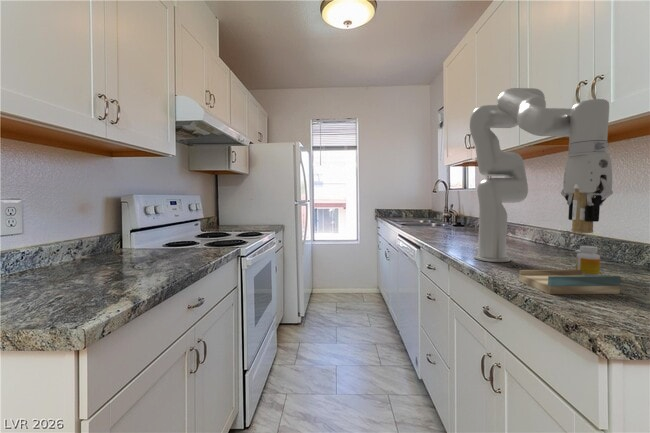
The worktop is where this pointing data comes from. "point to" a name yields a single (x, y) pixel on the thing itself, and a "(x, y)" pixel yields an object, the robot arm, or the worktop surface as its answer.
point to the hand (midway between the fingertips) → (583, 219)
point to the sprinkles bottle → (580, 213)
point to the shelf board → (570, 282)
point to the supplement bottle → (588, 261)
